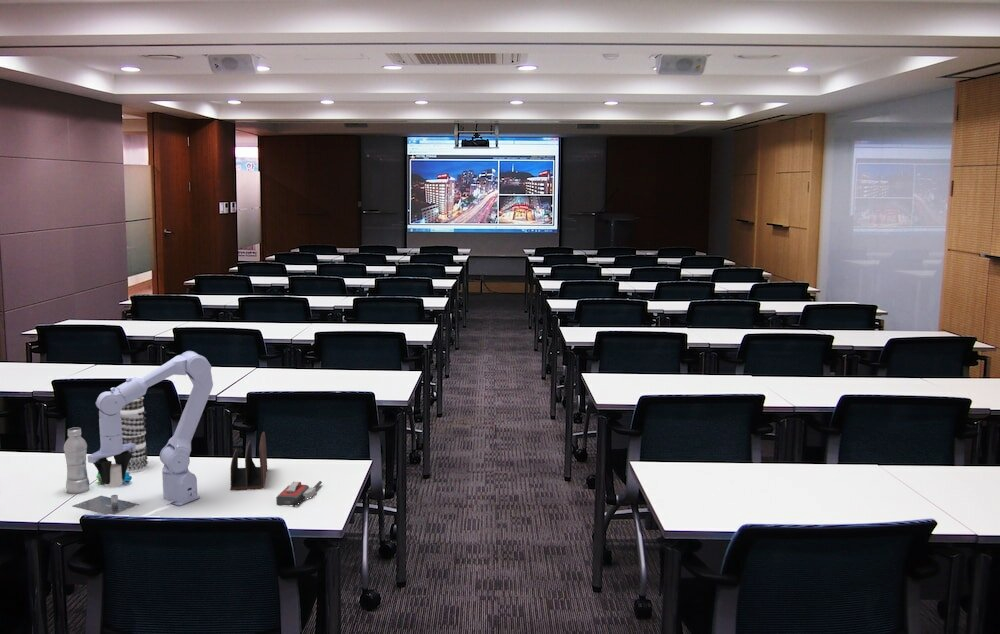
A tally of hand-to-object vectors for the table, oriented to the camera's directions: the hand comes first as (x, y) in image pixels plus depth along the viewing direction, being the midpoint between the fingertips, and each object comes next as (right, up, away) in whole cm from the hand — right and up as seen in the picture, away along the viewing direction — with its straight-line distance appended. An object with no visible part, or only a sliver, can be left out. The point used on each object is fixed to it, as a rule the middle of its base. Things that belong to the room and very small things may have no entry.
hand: (113, 480), depth 250 cm
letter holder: (+30, -6, +29) cm, 42 cm away
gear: (-10, -6, +22) cm, 25 cm away
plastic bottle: (-17, -7, +15) cm, 24 cm away
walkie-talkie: (+50, -8, +15) cm, 52 cm away
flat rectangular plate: (-4, -9, +3) cm, 10 cm away
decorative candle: (-11, -4, +40) cm, 41 cm away
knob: (0, -1, 0) cm, 1 cm away
